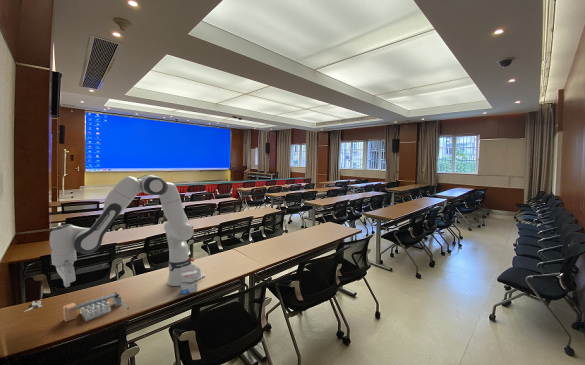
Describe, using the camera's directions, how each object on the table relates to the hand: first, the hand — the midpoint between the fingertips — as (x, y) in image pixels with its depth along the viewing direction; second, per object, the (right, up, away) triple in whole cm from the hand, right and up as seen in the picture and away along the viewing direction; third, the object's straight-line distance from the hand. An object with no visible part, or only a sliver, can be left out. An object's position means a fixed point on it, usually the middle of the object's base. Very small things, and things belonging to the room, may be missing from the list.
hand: (67, 285), depth 122 cm
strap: (+13, -9, +1) cm, 16 cm away
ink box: (+49, -14, +25) cm, 57 cm away
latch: (+6, -14, -5) cm, 16 cm away
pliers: (-21, -15, +6) cm, 27 cm away
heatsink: (+15, -14, +3) cm, 20 cm away
